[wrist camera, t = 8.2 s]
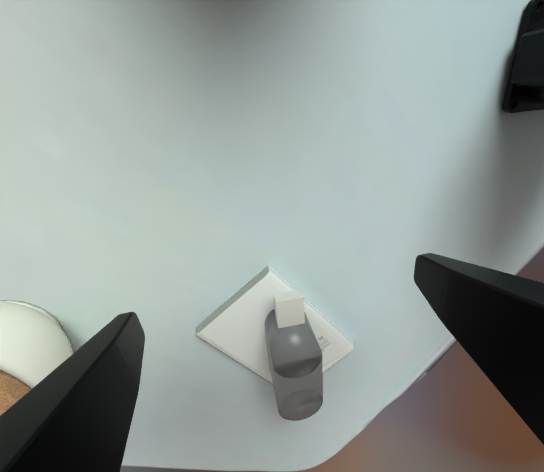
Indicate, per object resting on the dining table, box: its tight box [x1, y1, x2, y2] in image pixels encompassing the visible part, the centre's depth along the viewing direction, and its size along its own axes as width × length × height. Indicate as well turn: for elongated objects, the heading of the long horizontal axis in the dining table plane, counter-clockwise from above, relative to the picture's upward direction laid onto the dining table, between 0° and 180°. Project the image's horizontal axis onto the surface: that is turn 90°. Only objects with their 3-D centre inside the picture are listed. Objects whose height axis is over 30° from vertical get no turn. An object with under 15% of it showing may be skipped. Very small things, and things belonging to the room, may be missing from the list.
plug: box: [265, 290, 323, 421], centre depth 23 cm, size 14×4×4 cm, turn 5°
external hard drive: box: [196, 265, 355, 383], centre depth 25 cm, size 2×8×12 cm
